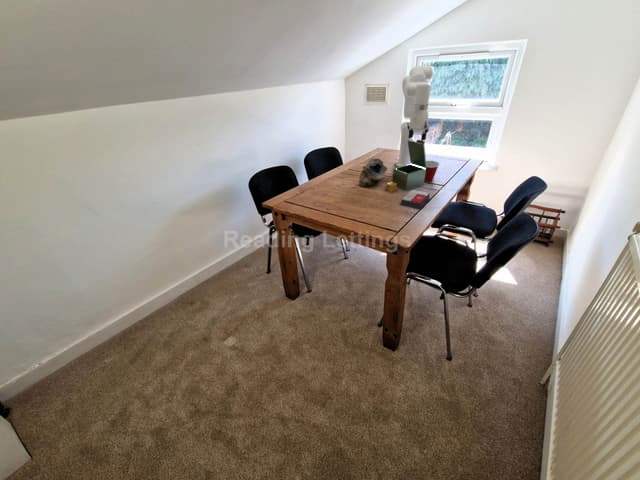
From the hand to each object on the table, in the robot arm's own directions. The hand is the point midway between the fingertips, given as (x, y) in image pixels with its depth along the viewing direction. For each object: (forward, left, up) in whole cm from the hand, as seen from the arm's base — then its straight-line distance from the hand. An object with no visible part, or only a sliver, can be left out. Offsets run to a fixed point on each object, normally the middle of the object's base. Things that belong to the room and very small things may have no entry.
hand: (416, 139), depth 169 cm
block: (0, -17, -29) cm, 33 cm away
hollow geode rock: (-19, -15, -29) cm, 38 cm away
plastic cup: (+3, +13, -29) cm, 32 cm away
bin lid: (0, +2, -10) cm, 10 cm away
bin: (0, -3, -29) cm, 29 cm away
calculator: (+21, -18, -29) cm, 40 cm away
